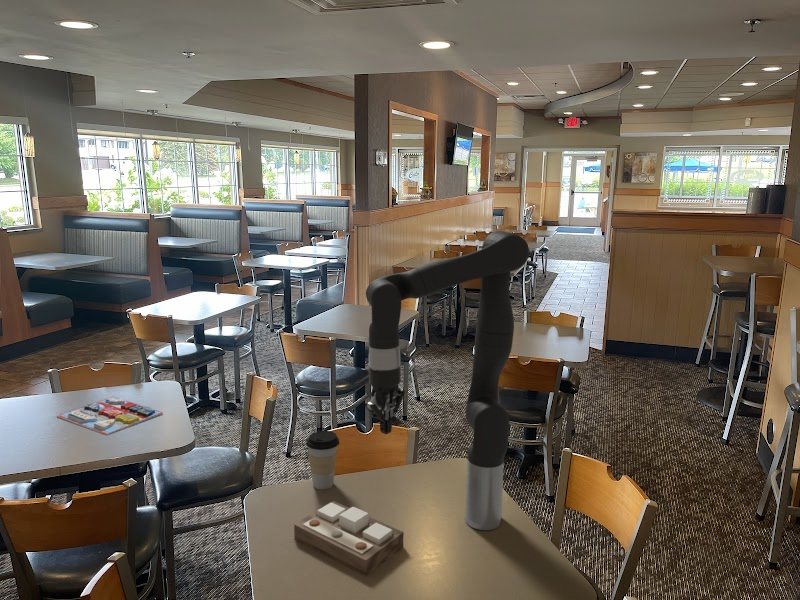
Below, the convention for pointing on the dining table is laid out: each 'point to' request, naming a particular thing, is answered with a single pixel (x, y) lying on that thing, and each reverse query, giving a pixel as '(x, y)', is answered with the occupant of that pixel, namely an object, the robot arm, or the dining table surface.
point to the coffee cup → (322, 458)
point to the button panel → (347, 542)
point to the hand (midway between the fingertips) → (385, 432)
